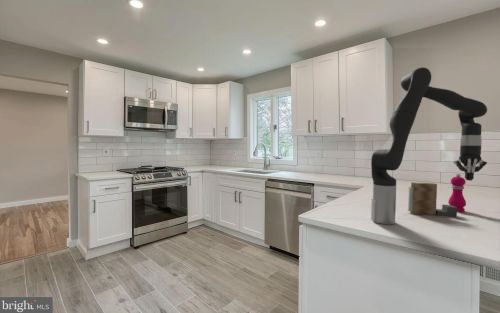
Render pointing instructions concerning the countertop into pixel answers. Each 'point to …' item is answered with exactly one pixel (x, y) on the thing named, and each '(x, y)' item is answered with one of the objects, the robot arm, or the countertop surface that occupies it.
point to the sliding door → (410, 199)
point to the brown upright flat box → (424, 198)
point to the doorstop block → (447, 211)
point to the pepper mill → (457, 193)
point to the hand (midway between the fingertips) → (469, 180)
